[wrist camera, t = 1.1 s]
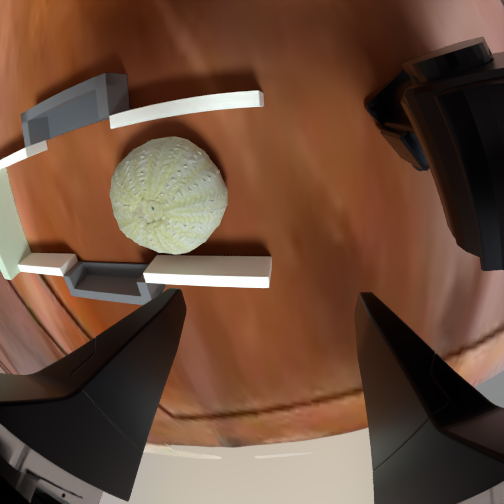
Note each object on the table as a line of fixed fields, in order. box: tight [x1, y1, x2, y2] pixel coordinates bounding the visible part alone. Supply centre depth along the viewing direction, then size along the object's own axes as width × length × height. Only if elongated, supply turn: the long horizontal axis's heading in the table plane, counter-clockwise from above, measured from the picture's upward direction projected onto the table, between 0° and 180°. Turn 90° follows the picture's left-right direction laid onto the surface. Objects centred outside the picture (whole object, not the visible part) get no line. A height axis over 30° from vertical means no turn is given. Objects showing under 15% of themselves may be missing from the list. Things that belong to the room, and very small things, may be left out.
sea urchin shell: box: [109, 136, 228, 255], centre depth 20 cm, size 9×8×8 cm
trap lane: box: [0, 73, 272, 305], centre depth 21 cm, size 31×20×3 cm, turn 95°
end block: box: [0, 167, 31, 280], centre depth 23 cm, size 2×14×5 cm, turn 4°
